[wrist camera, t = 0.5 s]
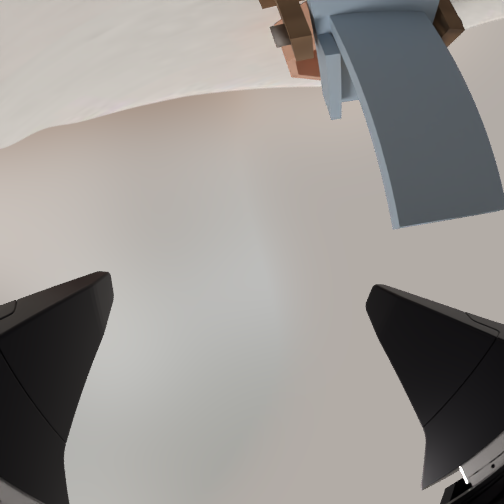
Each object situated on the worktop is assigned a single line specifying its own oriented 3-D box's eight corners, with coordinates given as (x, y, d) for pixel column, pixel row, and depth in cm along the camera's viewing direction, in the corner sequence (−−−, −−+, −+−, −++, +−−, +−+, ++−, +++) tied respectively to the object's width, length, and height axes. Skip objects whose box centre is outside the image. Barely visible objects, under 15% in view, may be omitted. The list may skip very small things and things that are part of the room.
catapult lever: (259, -115, 3) (459, 197, 2) (404, -115, 1) (634, 176, 1) (312, 64, 15) (357, 239, 15) (389, 55, 14) (444, 224, 13)
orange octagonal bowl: (267, 9, 14) (281, 48, 14) (390, -6, 11) (409, 33, 12) (284, 53, 21) (294, 85, 22) (373, 40, 19) (384, 71, 20)
